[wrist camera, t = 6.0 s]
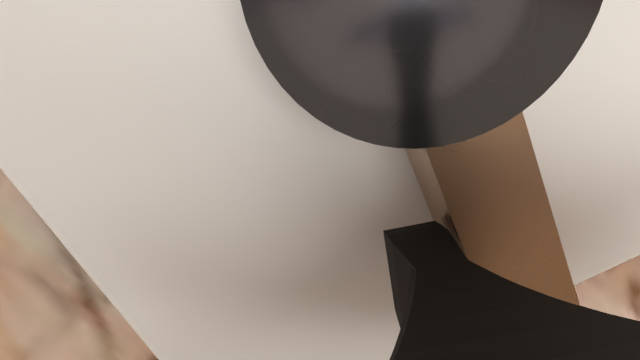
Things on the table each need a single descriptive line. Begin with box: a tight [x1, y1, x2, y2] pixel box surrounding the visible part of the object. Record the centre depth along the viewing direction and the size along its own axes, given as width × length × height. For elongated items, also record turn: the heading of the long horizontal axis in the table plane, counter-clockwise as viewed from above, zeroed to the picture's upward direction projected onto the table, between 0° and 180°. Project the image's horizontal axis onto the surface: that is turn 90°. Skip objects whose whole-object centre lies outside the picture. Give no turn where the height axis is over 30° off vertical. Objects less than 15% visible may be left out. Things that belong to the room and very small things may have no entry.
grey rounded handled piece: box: [240, 0, 603, 306], centre depth 9 cm, size 11×5×4 cm, turn 24°
